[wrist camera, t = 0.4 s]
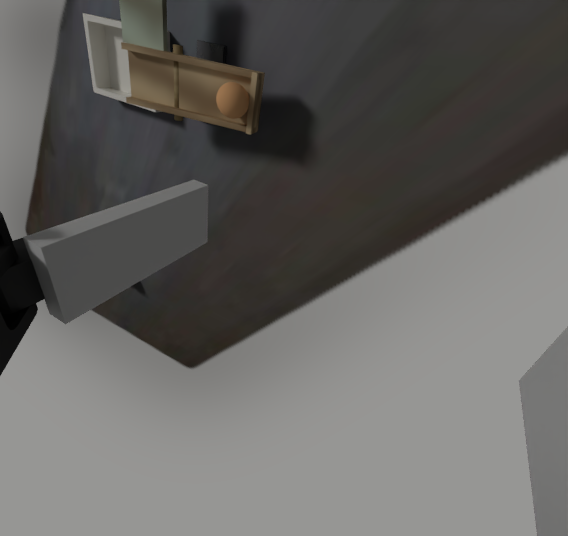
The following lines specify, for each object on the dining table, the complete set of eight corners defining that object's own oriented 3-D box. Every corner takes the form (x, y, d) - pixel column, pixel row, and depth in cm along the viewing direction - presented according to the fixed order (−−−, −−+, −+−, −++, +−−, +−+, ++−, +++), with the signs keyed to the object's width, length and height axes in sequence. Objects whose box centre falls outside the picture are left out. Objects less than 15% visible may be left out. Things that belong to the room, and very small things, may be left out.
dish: (103, 16, 45) (82, 13, 43) (169, 31, 41) (151, 28, 39) (111, 91, 51) (93, 91, 48) (171, 111, 47) (155, 112, 44)
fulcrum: (200, 40, 40) (170, 35, 36) (226, 46, 39) (198, 41, 35) (198, 118, 45) (172, 121, 41) (221, 125, 44) (196, 129, 40)
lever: (119, -68, 32) (101, -77, 30) (278, -40, 30) (270, -48, 28) (133, 107, 41) (120, 109, 39) (257, 138, 39) (249, 142, 37)
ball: (226, 78, 35) (211, 79, 32) (255, 85, 35) (243, 86, 32) (223, 112, 37) (209, 116, 34) (252, 119, 37) (240, 124, 34)
